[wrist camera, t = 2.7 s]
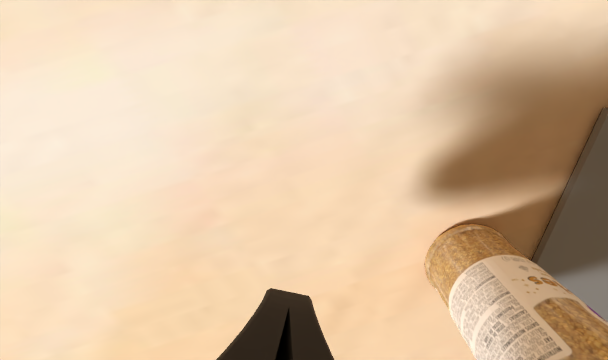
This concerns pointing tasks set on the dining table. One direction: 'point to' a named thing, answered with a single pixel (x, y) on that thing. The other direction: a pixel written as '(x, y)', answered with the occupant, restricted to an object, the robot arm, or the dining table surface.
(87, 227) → the dining table surface
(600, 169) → the rubber mat
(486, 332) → the sprinkles bottle
